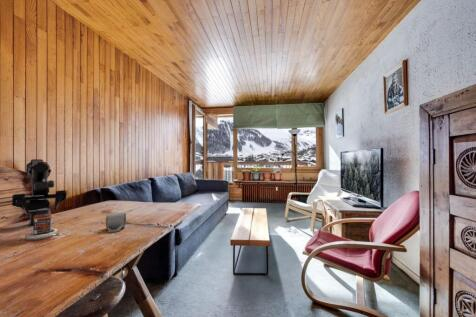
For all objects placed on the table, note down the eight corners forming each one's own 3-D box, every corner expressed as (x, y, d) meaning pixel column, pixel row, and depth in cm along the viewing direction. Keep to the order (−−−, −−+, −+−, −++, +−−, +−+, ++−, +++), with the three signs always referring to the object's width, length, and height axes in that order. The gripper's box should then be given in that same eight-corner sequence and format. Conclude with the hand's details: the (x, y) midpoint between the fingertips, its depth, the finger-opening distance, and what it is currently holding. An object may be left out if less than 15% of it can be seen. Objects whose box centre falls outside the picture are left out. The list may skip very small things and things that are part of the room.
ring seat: (25, 235, 95) (25, 231, 95) (57, 230, 103) (57, 226, 103) (24, 242, 87) (24, 238, 87) (59, 236, 94) (59, 232, 94)
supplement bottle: (35, 237, 91) (35, 211, 91) (31, 235, 94) (31, 209, 94) (53, 233, 96) (53, 208, 96) (48, 231, 99) (49, 207, 99)
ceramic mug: (108, 226, 108) (108, 211, 108) (126, 224, 111) (126, 210, 111) (103, 234, 98) (103, 217, 98) (123, 231, 101) (123, 215, 101)
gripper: (12, 176, 93) (12, 205, 86) (66, 174, 107) (70, 199, 99) (11, 191, 98) (12, 220, 91) (63, 187, 112) (67, 212, 105)
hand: (42, 212), depth 96 cm, fingers open, 9 cm apart
